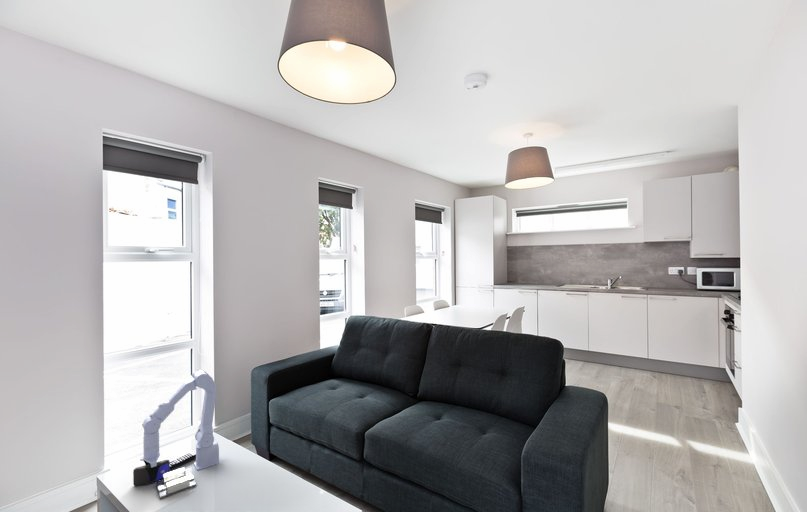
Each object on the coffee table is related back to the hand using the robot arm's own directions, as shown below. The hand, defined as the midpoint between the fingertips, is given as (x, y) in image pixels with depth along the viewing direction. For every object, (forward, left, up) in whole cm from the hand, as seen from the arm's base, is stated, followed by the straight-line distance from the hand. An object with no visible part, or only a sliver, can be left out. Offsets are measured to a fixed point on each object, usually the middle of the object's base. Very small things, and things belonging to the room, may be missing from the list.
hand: (151, 476), depth 163 cm
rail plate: (-8, +11, -3) cm, 14 cm away
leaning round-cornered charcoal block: (0, 0, -3) cm, 3 cm away
